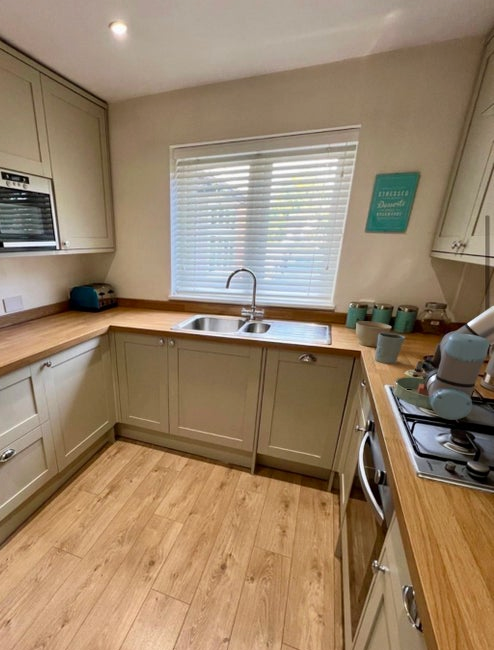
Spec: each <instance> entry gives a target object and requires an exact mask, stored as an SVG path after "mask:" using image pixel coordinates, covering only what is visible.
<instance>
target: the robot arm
mask: <svg viewBox="0 0 494 650" xmlns="http://www.w3.org/2000/svg"><path fill="white" fill-rule="evenodd" d="M439 343H440V352H441V362H440V365H439V369H437V368H434V367H433V366H432V357H431V356H429V355H428V356H427V357H426V359H424V360H423V361H422V360H418V361H417V364H416V367H414V369H413V370H414V373H413V377H421V376H422V377H423V379H425V381H426V386H427V390H428V394H429V398H430V405H431V407H432V408H433V409H432V411H433V412H434V413H435V414H436V415H437V416H439V417H440V418H442V419H444V420H445V419H446V420H452V421H453V420H454V421H455V420H460V419H463V418H466V417H467V416H468V415H469V414H470V413H471V411H472V409H473V402H472V401H473V400H472V395H473V392H474V389H475V387H476V382H477V380H478V377H479V375H480V372H481V369H482V366H483V365H484V362H485V360H486V358H487V356H488V350H489V348H490V347H491V346H493V345H494V305H492V306H490V307H489V308H488V309H486V310H485V311H483V312H482V313H480V314H479V315H478V316H476V317H475V318H473V319H472V320H470V321H469V322H467V323H465V324H464V325H462V326H461V327H460V328H458V329H457V330H454V331H450V332H448V333H446V334H445V335H444V336H443V337H442V339H441V341H440V342H439ZM423 371H425V373H424V372H423Z"/></svg>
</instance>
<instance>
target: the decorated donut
mask: <svg viewBox="0 0 494 650" xmlns="http://www.w3.org/2000/svg"><path fill="white" fill-rule="evenodd" d="M423 372H424V373H425V371H424V370H423ZM413 373H414V369H408V370H406V371H405V372H404V373H403V375H404V377H413ZM417 378H423V377H422V376H421V377H417Z"/></svg>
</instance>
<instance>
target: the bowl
mask: <svg viewBox="0 0 494 650" xmlns="http://www.w3.org/2000/svg"><path fill="white" fill-rule="evenodd" d="M419 384H425V379H423V378H417V377H405V376H402V377H398V378H396V379H395V381H394V384H393V388H392V394H393V395H394V396H395V397H396V398H398V399H399V400H400V401H403V402H405V403H408V404H411V405H413V406H416V407H420V408H424V409H428V410H433V408H432V407H431V405H430V398H429V396H425V395H421V394H418V393H417V390H418V386H419ZM407 389H412V390H407Z"/></svg>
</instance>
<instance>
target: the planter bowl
mask: <svg viewBox="0 0 494 650" xmlns="http://www.w3.org/2000/svg"><path fill="white" fill-rule="evenodd" d="M391 330H392V326H391V325H389V324H386V323H382V322H376V321H368V320H367V321H366V320H365V321H364V320H362V321H357V322H356V323H355V334H356V337H357V339H358V343H359V345H362V346H366V347H373V348H374V347H375V348H377V342H378V335H379V333H391Z"/></svg>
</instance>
